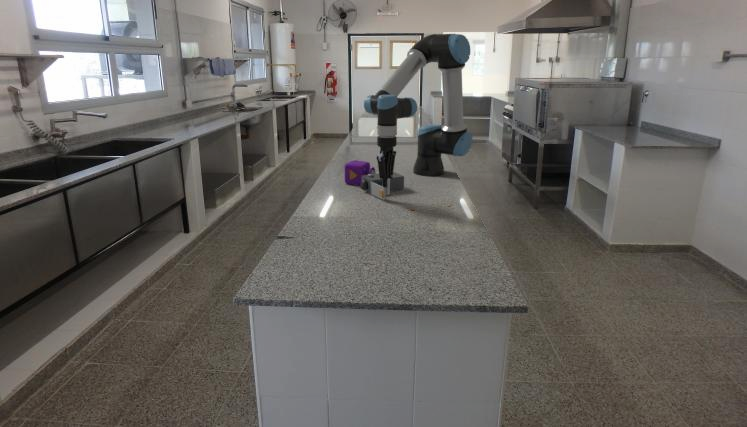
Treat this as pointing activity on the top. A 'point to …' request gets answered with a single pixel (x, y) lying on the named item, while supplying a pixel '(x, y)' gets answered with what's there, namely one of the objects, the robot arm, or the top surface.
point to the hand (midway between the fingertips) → (386, 194)
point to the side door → (378, 190)
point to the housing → (395, 182)
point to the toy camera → (357, 171)
